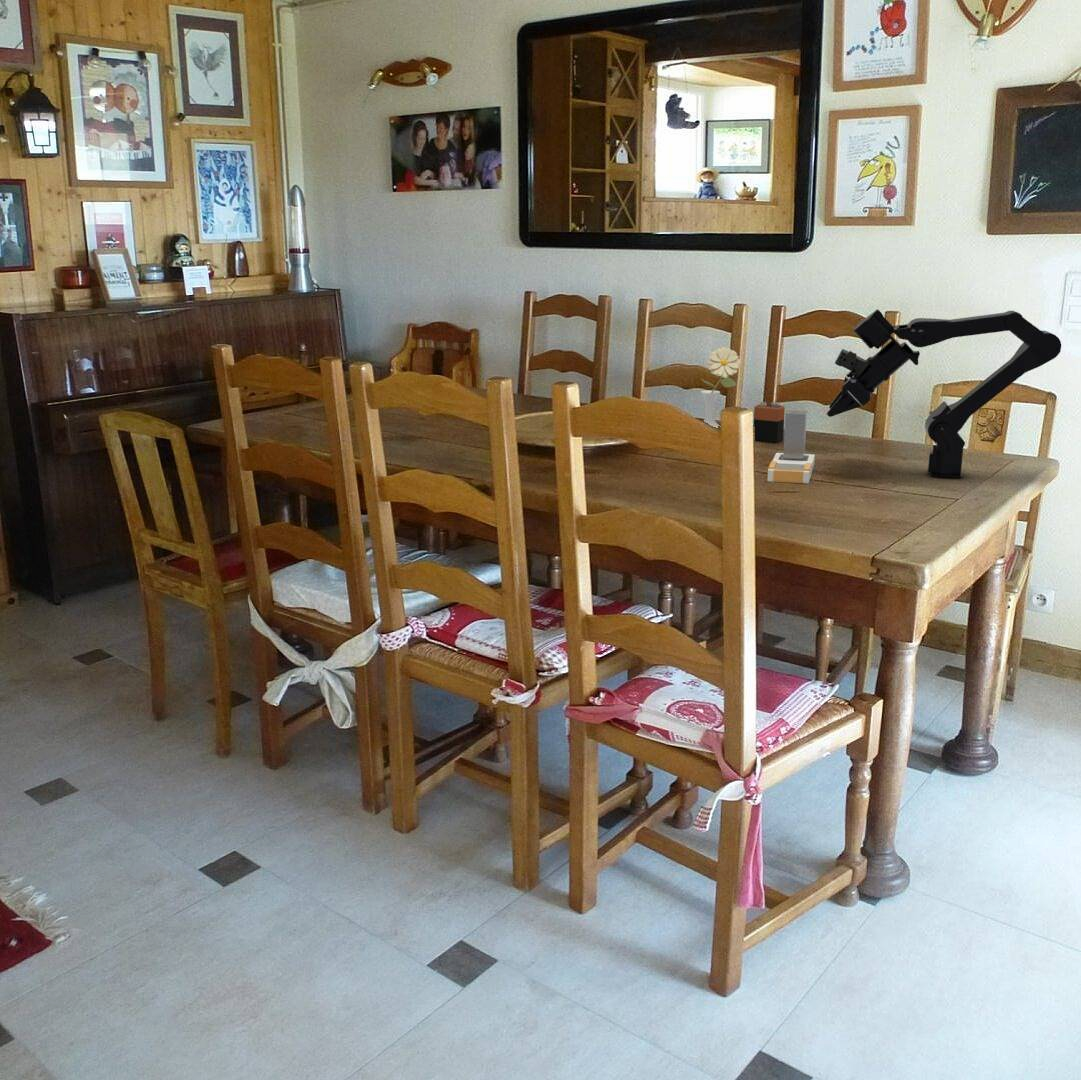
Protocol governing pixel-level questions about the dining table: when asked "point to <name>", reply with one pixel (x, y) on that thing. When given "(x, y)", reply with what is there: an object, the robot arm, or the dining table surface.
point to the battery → (769, 422)
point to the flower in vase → (723, 366)
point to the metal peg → (795, 435)
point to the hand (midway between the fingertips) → (829, 411)
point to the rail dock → (791, 469)
